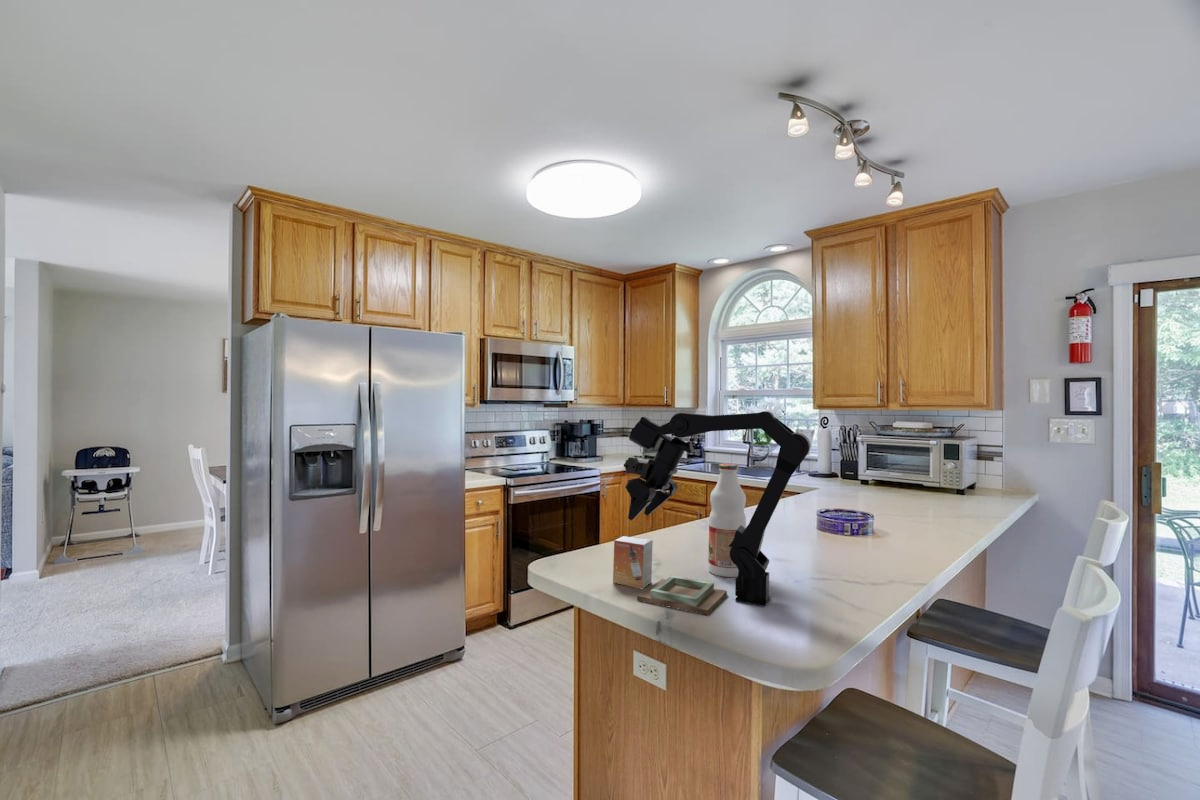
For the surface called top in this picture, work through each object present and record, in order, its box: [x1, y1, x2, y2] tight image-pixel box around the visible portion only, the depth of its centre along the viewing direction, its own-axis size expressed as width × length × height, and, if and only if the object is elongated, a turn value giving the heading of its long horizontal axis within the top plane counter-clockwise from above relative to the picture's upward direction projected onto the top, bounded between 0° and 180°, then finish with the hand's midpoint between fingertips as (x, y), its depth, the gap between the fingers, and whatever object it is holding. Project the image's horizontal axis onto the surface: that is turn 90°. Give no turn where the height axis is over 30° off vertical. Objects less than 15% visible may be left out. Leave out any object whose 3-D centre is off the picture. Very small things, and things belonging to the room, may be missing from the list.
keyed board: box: [636, 575, 728, 616], centre depth 125 cm, size 16×14×2 cm
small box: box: [612, 535, 654, 589], centre depth 134 cm, size 8×6×10 cm
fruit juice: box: [707, 463, 747, 578], centre depth 144 cm, size 9×9×28 cm
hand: (638, 517), depth 135 cm, fingers open, 9 cm apart
